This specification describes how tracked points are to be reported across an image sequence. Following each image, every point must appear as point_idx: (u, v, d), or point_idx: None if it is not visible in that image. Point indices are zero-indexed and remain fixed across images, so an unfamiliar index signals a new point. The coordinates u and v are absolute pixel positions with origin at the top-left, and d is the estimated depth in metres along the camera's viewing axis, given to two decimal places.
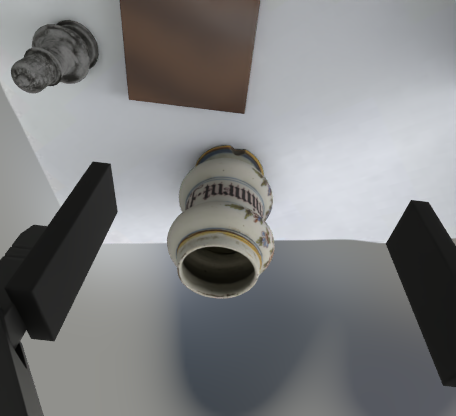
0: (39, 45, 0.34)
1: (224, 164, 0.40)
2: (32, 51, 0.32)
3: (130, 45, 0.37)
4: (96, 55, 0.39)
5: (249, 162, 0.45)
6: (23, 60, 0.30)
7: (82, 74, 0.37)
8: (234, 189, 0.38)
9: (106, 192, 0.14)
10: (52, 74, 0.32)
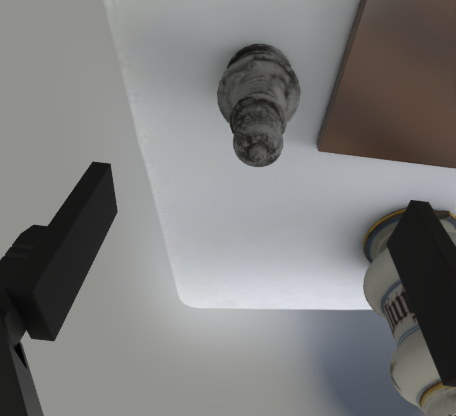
0: (234, 84, 0.23)
1: None
2: (252, 100, 0.20)
3: (350, 81, 0.25)
4: None
5: (452, 228, 0.34)
6: (259, 119, 0.18)
7: None
8: None
9: (106, 192, 0.14)
10: None
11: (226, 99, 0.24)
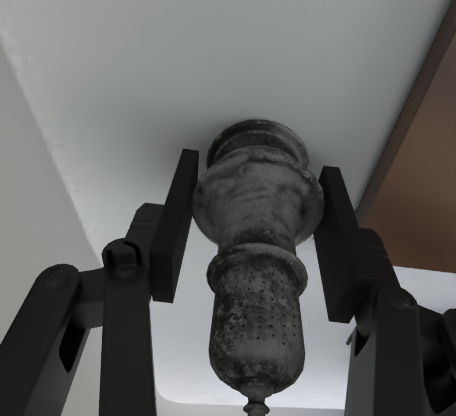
0: (218, 196, 0.14)
1: None
2: (246, 255, 0.11)
3: (401, 176, 0.16)
4: None
5: None
6: (259, 324, 0.09)
7: None
8: None
9: (196, 176, 0.16)
10: None
11: (205, 214, 0.15)
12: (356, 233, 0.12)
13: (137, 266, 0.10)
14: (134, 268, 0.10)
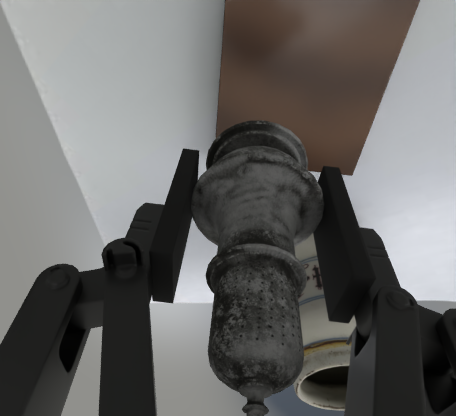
0: (217, 197, 0.14)
1: None
2: (245, 255, 0.11)
3: (226, 102, 0.30)
4: None
5: None
6: (258, 324, 0.09)
7: None
8: None
9: (196, 176, 0.16)
10: None
11: (205, 214, 0.15)
12: (356, 233, 0.12)
13: (137, 266, 0.10)
14: (134, 268, 0.10)
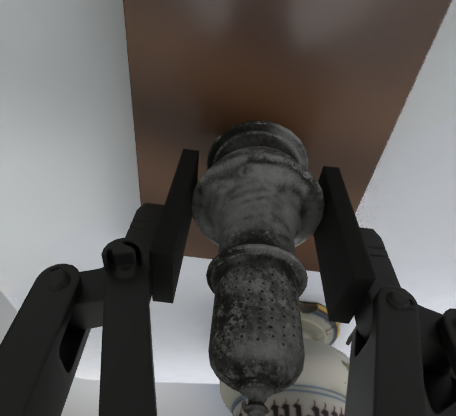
0: (218, 197, 0.14)
1: None
2: (246, 255, 0.11)
3: (150, 187, 0.22)
4: None
5: (322, 321, 0.30)
6: (259, 325, 0.09)
7: None
8: None
9: (196, 176, 0.16)
10: None
11: (205, 214, 0.15)
12: (356, 233, 0.12)
13: (137, 266, 0.10)
14: (134, 268, 0.10)
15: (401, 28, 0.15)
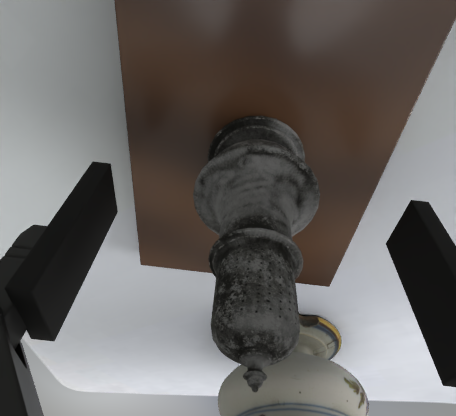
0: (219, 187, 0.15)
1: (300, 380, 0.24)
2: (245, 238, 0.12)
3: (146, 200, 0.21)
4: None
5: (323, 335, 0.30)
6: (257, 299, 0.10)
7: None
8: None
9: (106, 192, 0.14)
10: None
11: (207, 204, 0.16)
12: None
13: None
14: None
15: (406, 39, 0.14)
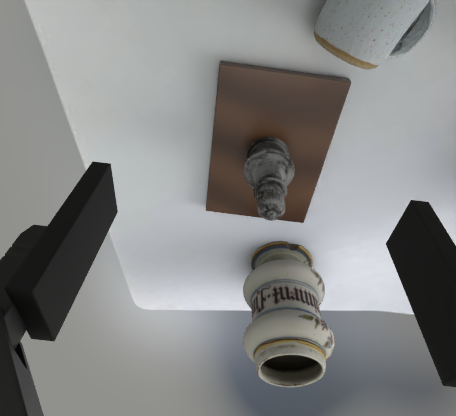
0: (255, 165, 0.38)
1: (288, 268, 0.47)
2: (267, 181, 0.35)
3: (214, 175, 0.44)
4: None
5: (301, 256, 0.53)
6: (272, 195, 0.33)
7: None
8: (298, 292, 0.45)
9: (106, 192, 0.14)
10: None
11: (249, 173, 0.39)
12: None
13: None
14: None
15: (326, 109, 0.38)
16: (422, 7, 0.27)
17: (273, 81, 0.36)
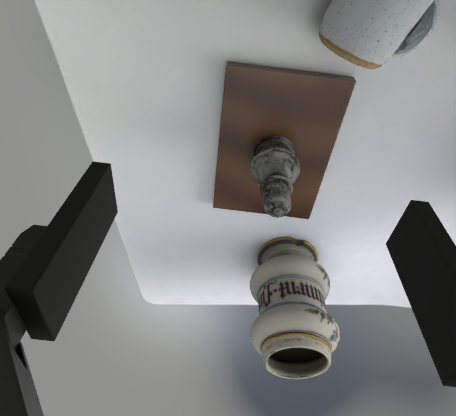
0: (261, 163, 0.39)
1: (294, 263, 0.48)
2: (273, 178, 0.36)
3: (221, 172, 0.45)
4: None
5: (307, 251, 0.54)
6: (278, 193, 0.34)
7: None
8: (304, 287, 0.46)
9: (106, 192, 0.14)
10: None
11: (255, 171, 0.40)
12: None
13: None
14: None
15: (331, 108, 0.38)
16: (425, 8, 0.27)
17: (279, 81, 0.37)
